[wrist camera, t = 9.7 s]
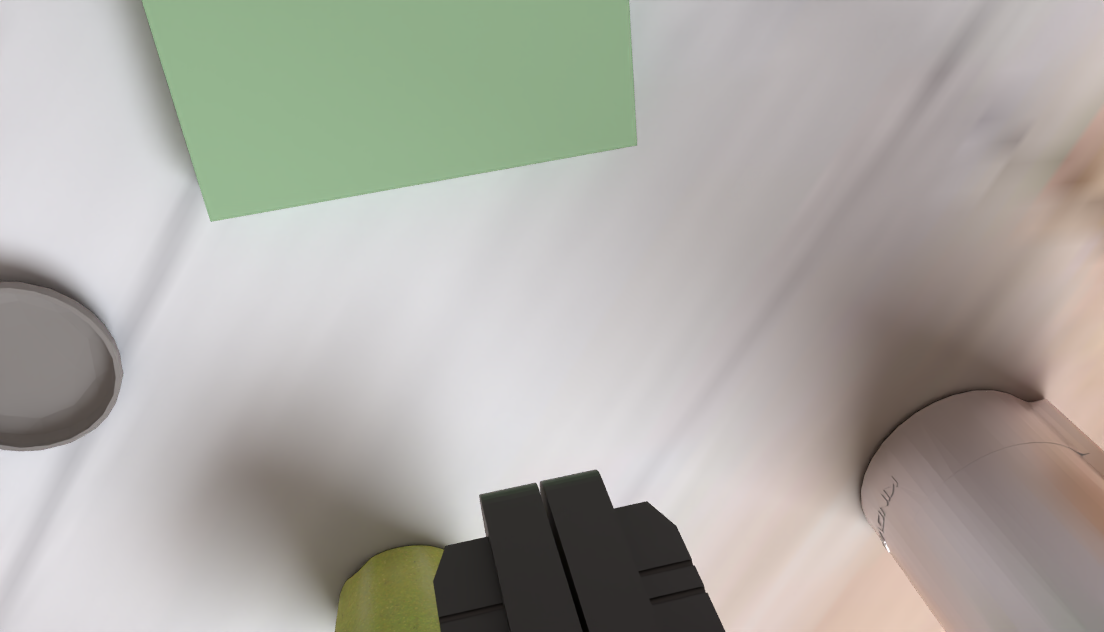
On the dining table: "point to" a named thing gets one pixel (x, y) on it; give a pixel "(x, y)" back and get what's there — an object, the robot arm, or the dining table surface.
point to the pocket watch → (52, 368)
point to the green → (387, 91)
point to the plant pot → (392, 593)
